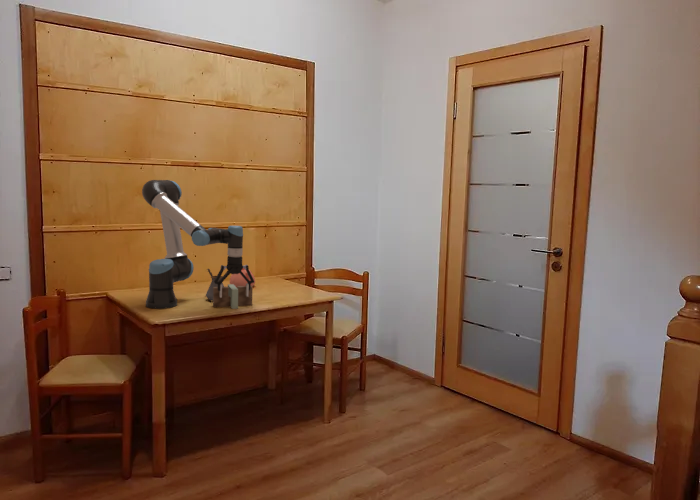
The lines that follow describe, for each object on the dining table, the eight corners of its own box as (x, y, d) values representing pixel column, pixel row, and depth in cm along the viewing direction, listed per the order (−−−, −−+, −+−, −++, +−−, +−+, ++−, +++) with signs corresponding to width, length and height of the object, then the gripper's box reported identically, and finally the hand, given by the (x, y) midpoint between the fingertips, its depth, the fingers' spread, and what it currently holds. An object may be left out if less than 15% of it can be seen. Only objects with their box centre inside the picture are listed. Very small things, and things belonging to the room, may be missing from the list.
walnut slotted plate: (213, 307, 273) (213, 288, 272) (212, 305, 276) (213, 287, 275) (252, 305, 281) (252, 286, 279) (250, 303, 283) (251, 285, 282)
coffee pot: (230, 301, 288) (230, 274, 286) (209, 302, 282) (209, 275, 280) (217, 293, 306) (217, 267, 304) (197, 294, 300) (197, 268, 298)
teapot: (221, 284, 332) (222, 264, 330) (243, 282, 342) (244, 263, 340) (238, 290, 315) (239, 270, 314) (261, 288, 325) (262, 268, 324)
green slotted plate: (232, 308, 271) (232, 289, 270) (227, 302, 284) (227, 284, 283) (237, 308, 272) (238, 289, 271) (233, 302, 285) (233, 284, 284)
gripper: (211, 257, 262) (210, 299, 265) (260, 256, 272) (259, 297, 275) (209, 255, 269) (208, 295, 272) (257, 254, 279) (256, 294, 281)
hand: (234, 296), depth 273 cm, fingers open, 13 cm apart
